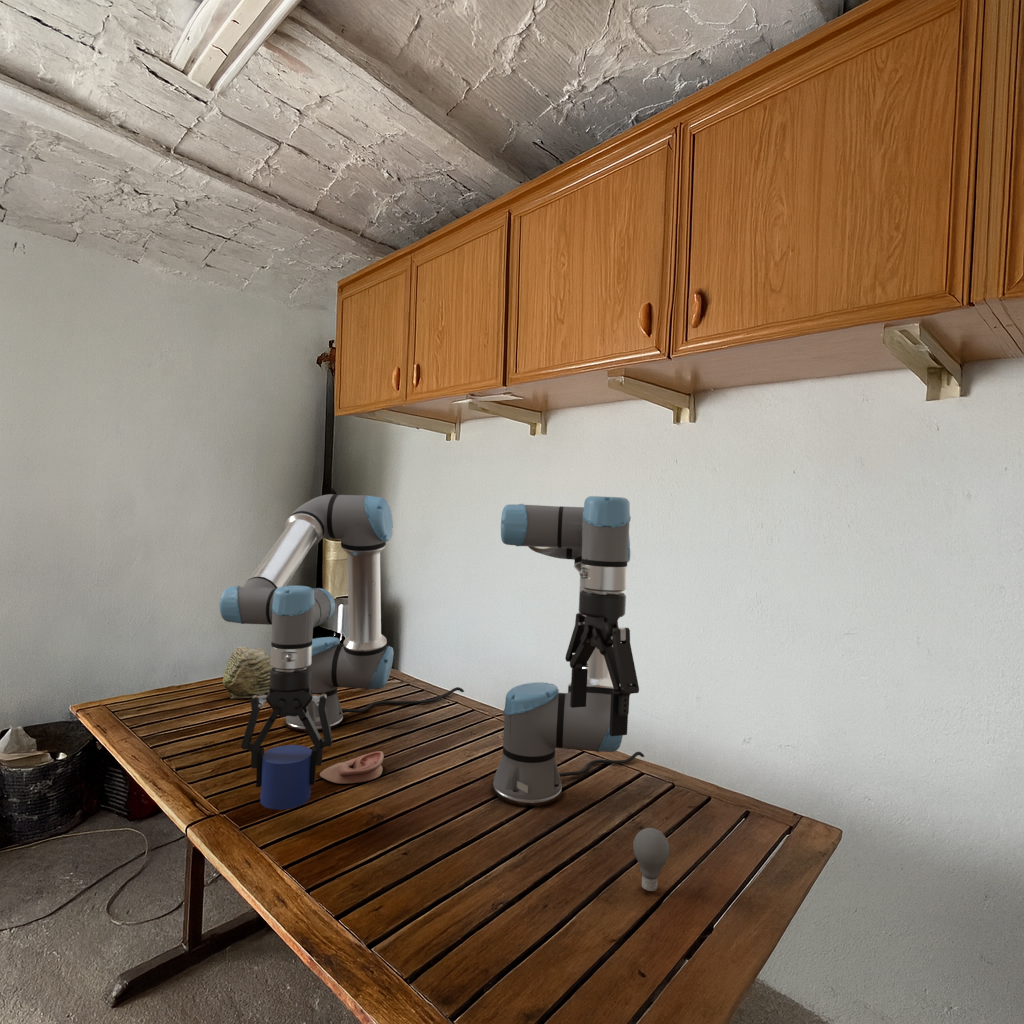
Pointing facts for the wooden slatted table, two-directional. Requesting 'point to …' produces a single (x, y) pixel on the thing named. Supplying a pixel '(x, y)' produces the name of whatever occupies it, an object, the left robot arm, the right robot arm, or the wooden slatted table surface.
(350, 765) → the anatomical model
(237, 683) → the fossil
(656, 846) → the light bulb
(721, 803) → the wooden slatted table surface
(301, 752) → the cylinder
